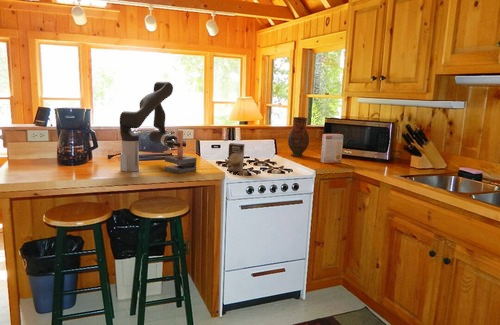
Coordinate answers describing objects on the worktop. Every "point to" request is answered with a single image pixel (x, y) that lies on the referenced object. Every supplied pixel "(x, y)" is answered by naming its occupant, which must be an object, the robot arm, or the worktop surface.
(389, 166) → the worktop surface
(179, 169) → the clevis
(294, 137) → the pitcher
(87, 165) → the worktop surface
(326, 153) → the cracker box
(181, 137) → the pin
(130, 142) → the robot arm
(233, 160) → the coffee box
